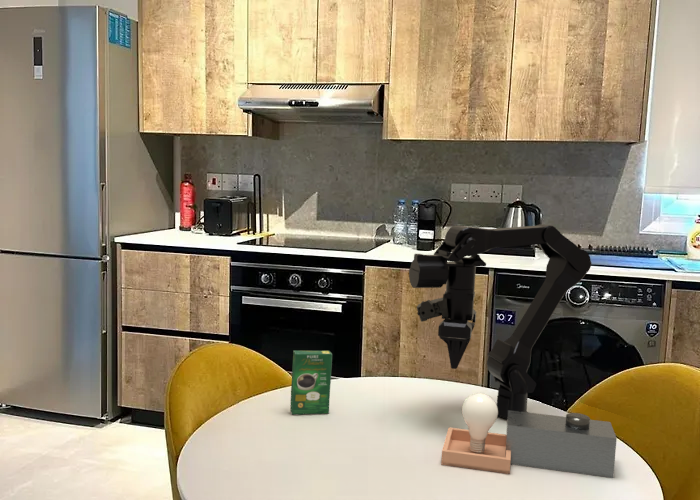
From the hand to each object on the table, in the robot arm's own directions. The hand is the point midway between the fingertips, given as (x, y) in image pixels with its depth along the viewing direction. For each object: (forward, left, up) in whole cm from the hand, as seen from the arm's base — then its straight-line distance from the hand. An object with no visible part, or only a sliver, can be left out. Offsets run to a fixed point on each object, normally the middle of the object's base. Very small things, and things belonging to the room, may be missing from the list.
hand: (456, 362), depth 138 cm
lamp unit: (+1, +25, -12) cm, 28 cm away
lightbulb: (+11, +15, -12) cm, 22 cm away
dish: (+11, +15, -12) cm, 22 cm away
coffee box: (+22, -20, -12) cm, 32 cm away
